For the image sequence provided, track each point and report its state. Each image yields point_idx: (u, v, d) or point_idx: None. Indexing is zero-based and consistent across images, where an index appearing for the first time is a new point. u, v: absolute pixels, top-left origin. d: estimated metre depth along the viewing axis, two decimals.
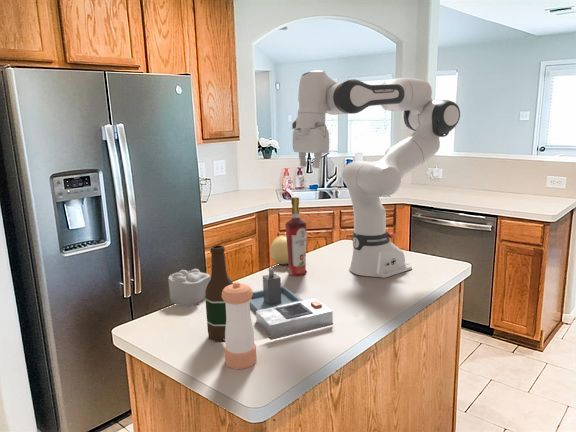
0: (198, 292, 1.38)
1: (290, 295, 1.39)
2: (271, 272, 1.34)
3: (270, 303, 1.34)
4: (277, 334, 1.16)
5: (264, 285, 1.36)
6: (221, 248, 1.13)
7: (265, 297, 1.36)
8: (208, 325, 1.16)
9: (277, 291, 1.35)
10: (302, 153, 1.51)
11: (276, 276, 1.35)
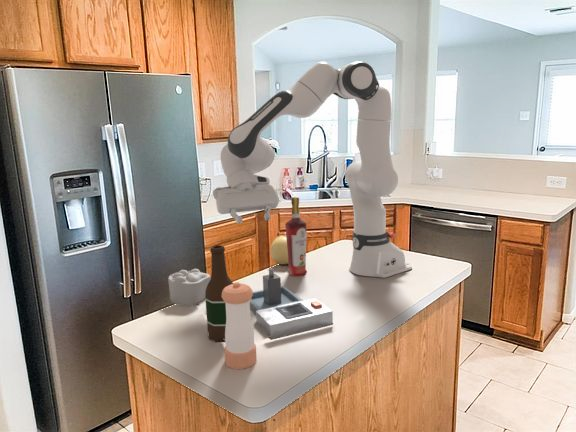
0: (198, 292, 1.38)
1: (290, 295, 1.39)
2: (271, 272, 1.34)
3: (270, 303, 1.34)
4: (277, 334, 1.16)
5: (264, 285, 1.36)
6: (221, 248, 1.13)
7: (265, 297, 1.36)
8: (208, 325, 1.16)
9: (277, 291, 1.35)
10: (265, 208, 1.48)
11: (276, 276, 1.35)
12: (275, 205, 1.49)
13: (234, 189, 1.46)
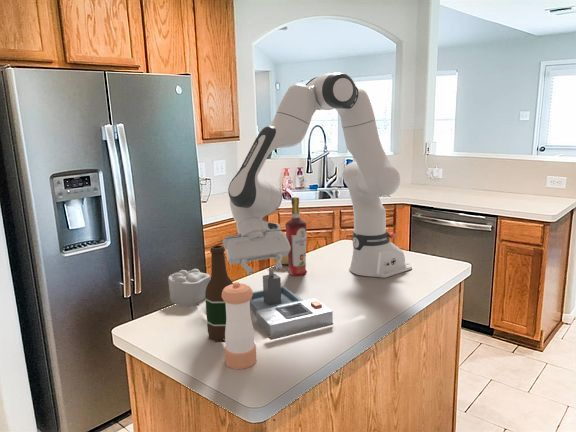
0: (198, 292, 1.38)
1: (290, 295, 1.39)
2: (271, 272, 1.34)
3: (270, 303, 1.34)
4: (277, 334, 1.16)
5: (264, 285, 1.36)
6: (221, 248, 1.13)
7: (265, 297, 1.36)
8: (208, 325, 1.16)
9: (277, 291, 1.35)
10: (276, 256, 1.43)
11: (276, 276, 1.35)
12: (286, 253, 1.45)
13: (244, 237, 1.42)
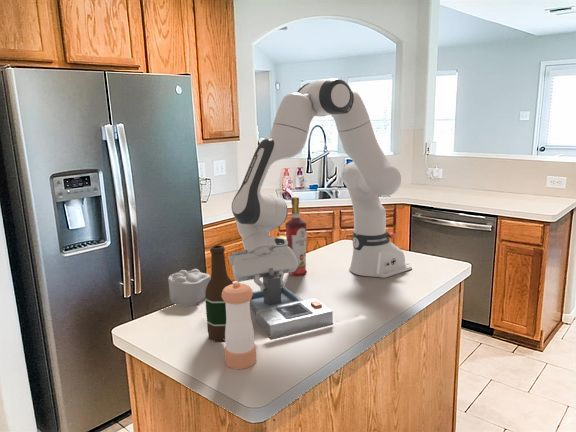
0: (198, 292, 1.38)
1: (290, 295, 1.39)
2: (271, 272, 1.34)
3: (270, 303, 1.34)
4: (277, 334, 1.16)
5: None
6: (221, 248, 1.13)
7: (265, 297, 1.36)
8: (208, 325, 1.16)
9: (277, 291, 1.35)
10: (277, 274, 1.39)
11: (276, 276, 1.35)
12: (294, 269, 1.41)
13: (251, 254, 1.38)
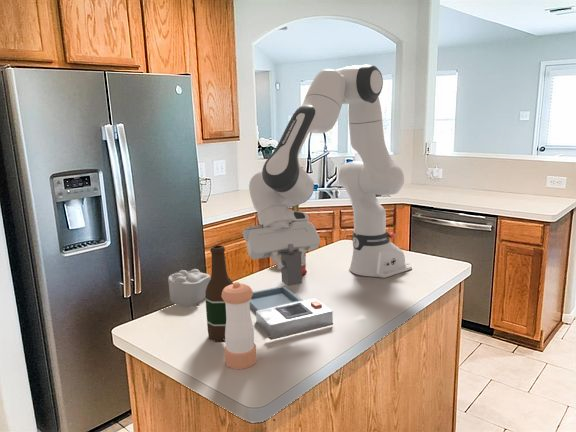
0: (198, 292, 1.38)
1: (290, 295, 1.39)
2: (291, 248, 1.19)
3: (289, 283, 1.19)
4: (277, 334, 1.16)
5: None
6: (221, 248, 1.13)
7: (283, 277, 1.21)
8: (208, 325, 1.16)
9: (297, 270, 1.19)
10: (297, 251, 1.24)
11: (296, 253, 1.20)
12: (316, 246, 1.26)
13: (268, 228, 1.23)
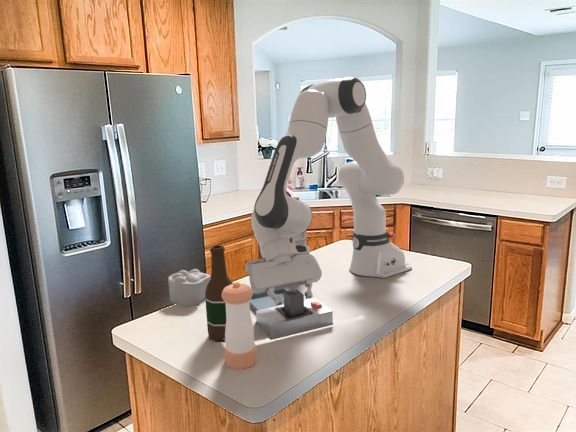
0: (198, 293, 1.38)
1: None
2: (293, 288, 1.21)
3: None
4: (277, 334, 1.16)
5: (286, 303, 1.22)
6: (221, 248, 1.13)
7: None
8: (208, 325, 1.16)
9: (300, 309, 1.21)
10: (305, 283, 1.26)
11: (299, 293, 1.22)
12: (317, 279, 1.27)
13: (270, 263, 1.24)
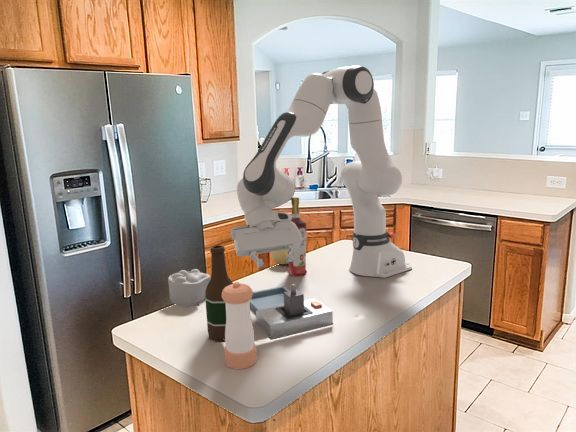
0: (198, 293, 1.38)
1: None
2: (293, 288, 1.21)
3: None
4: (277, 334, 1.16)
5: (286, 303, 1.22)
6: (221, 248, 1.13)
7: None
8: (208, 325, 1.16)
9: (300, 309, 1.21)
10: (287, 248, 1.35)
11: (299, 293, 1.22)
12: (298, 244, 1.36)
13: (253, 228, 1.33)
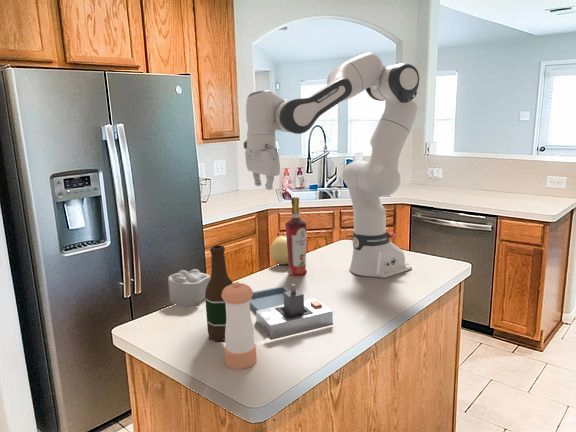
0: (198, 293, 1.38)
1: None
2: (293, 288, 1.21)
3: None
4: (277, 334, 1.16)
5: (286, 303, 1.22)
6: (221, 248, 1.13)
7: None
8: (208, 325, 1.16)
9: (300, 309, 1.21)
10: (256, 172, 1.50)
11: (299, 293, 1.22)
12: None
13: None
